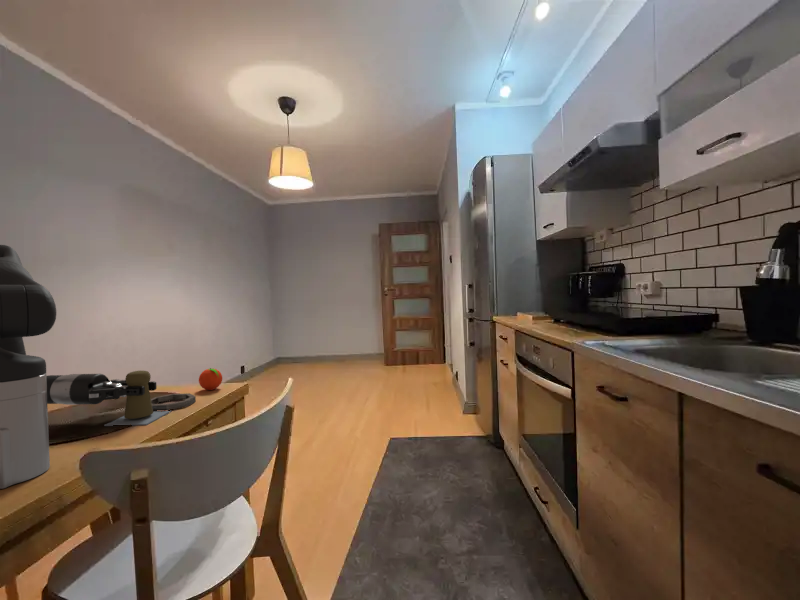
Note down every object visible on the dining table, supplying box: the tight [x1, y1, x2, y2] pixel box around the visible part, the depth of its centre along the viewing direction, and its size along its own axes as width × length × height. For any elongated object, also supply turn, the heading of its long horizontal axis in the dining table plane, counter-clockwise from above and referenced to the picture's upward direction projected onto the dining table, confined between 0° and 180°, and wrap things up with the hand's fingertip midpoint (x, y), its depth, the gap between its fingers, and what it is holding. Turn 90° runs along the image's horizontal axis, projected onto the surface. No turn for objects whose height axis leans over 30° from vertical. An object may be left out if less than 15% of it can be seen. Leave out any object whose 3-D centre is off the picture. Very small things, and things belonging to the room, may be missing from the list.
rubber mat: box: [104, 410, 172, 427], centre depth 95 cm, size 10×10×1 cm
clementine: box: [198, 367, 223, 391], centre depth 122 cm, size 8×7×7 cm
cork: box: [123, 370, 153, 419], centre depth 94 cm, size 6×6×11 cm
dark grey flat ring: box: [151, 392, 197, 411], centre depth 106 cm, size 12×12×2 cm
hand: (149, 388), depth 94 cm, fingers closed on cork, 4 cm apart
